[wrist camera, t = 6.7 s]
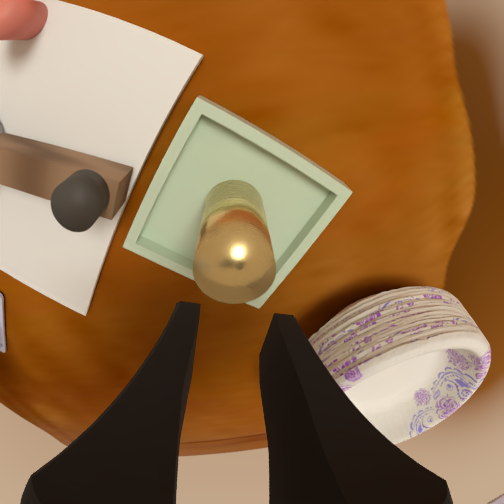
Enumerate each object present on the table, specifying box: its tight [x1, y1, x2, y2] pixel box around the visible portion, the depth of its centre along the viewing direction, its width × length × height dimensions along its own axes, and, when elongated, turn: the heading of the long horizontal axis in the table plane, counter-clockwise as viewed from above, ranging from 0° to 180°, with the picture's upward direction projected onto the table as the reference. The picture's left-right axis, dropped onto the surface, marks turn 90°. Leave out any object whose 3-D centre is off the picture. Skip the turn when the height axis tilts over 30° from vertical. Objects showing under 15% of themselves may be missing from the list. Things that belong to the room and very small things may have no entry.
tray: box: [123, 95, 353, 309], centre depth 17 cm, size 9×9×2 cm
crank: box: [0, 123, 133, 232], centre depth 12 cm, size 13×4×4 cm, turn 68°
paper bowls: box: [309, 286, 491, 445], centre depth 21 cm, size 15×15×8 cm
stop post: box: [0, 0, 48, 40], centre depth 8 cm, size 2×2×3 cm
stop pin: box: [193, 180, 276, 304], centre depth 15 cm, size 3×3×6 cm
